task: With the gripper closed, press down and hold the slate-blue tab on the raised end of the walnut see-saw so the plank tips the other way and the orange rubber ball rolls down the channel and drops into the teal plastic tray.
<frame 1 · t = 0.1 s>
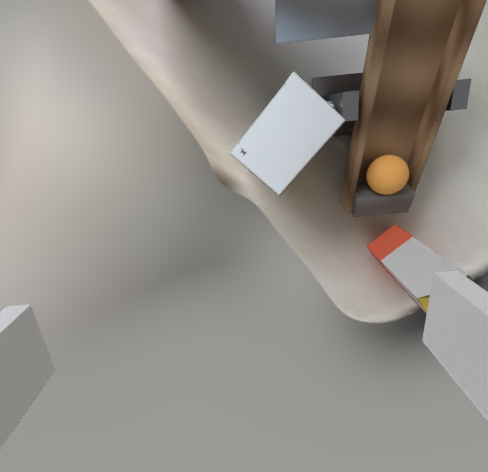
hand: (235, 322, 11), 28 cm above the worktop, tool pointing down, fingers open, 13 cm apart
small box: (283, 141, 35), on the worktop, touching stand
ball: (387, 174, 32), point 5 cm above the worktop, tilted 11°, touching lever
lever: (358, 112, 28), point 6 cm above the worktop, hinge at 23.0°, touching ball
stand: (372, 102, 34), on the worktop
french fries container: (394, 256, 41), on the worktop
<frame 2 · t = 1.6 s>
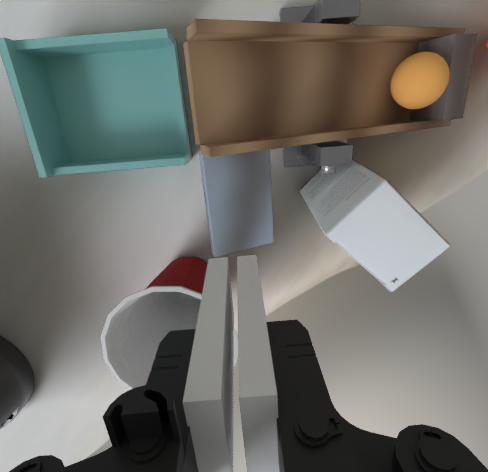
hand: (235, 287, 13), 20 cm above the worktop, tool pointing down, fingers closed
small box: (343, 194, 32), on the worktop, touching stand
ball: (418, 81, 24), point 5 cm above the worktop, tilted 11°, touching lever
tray: (119, 108, 29), on the worktop
lever: (341, 140, 24), point 6 cm above the worktop, hinge at 23.1°, touching ball
stand: (314, 92, 29), on the worktop
plastic cup: (189, 276, 36), on the worktop
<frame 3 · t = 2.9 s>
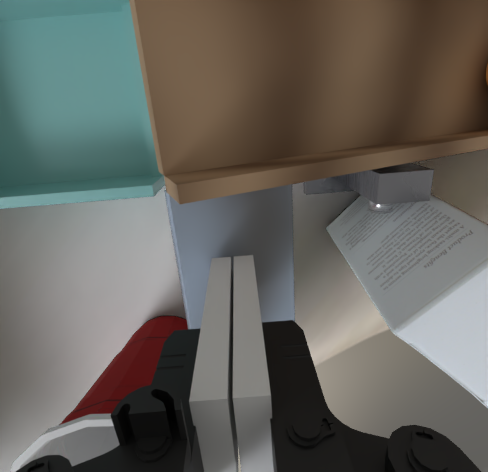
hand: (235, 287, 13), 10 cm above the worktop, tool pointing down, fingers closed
small box: (388, 231, 22), on the worktop, touching stand
tray: (55, 107, 19), on the worktop
lever: (410, 160, 14), point 6 cm above the worktop, hinge at 22.3°, touching ball, gripper
stand: (352, 83, 19), on the worktop
plastic cup: (170, 340, 26), on the worktop
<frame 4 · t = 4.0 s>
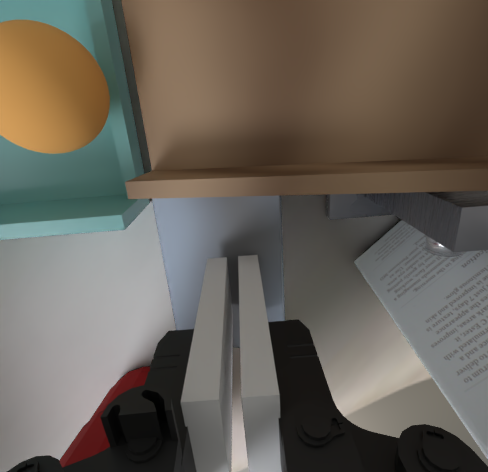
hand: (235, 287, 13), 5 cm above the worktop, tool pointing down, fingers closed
small box: (432, 264, 18), on the worktop, touching stand
ball: (44, 91, 11), point 4 cm above the worktop, tilted 123°
lever: (475, 187, 9), point 6 cm above the worktop, hinge at -13.2°, touching gripper
stand: (395, 73, 14), on the worktop
plastic cup: (156, 393, 21), on the worktop
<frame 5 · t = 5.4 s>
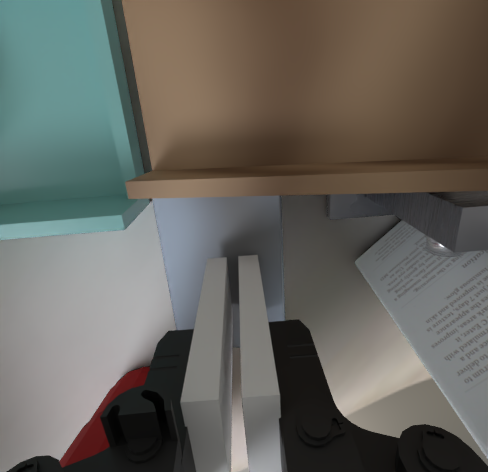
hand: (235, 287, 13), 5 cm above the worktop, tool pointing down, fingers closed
small box: (432, 264, 18), on the worktop, touching stand
lever: (476, 187, 9), point 6 cm above the worktop, hinge at -13.3°, touching gripper
stand: (396, 73, 14), on the worktop
plastic cup: (156, 393, 21), on the worktop
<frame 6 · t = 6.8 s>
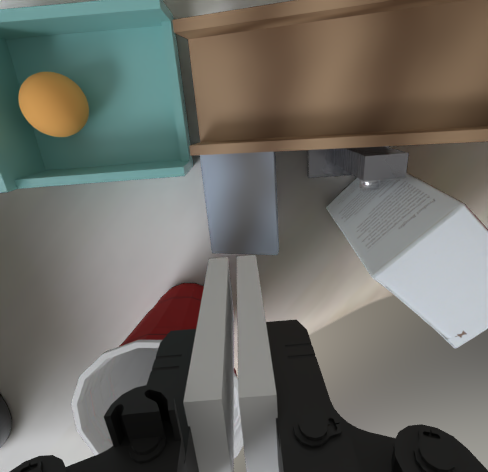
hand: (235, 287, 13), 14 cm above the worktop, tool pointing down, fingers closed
small box: (380, 211, 26), on the worktop, touching stand
ball: (55, 105, 21), point 2 cm above the worktop, tilted 96°, touching tray
tray: (102, 103, 23), on the worktop
lever: (375, 147, 18), point 6 cm above the worktop, hinge at -13.3°
stand: (349, 83, 23), on the worktop
plastic cup: (191, 305, 30), on the worktop
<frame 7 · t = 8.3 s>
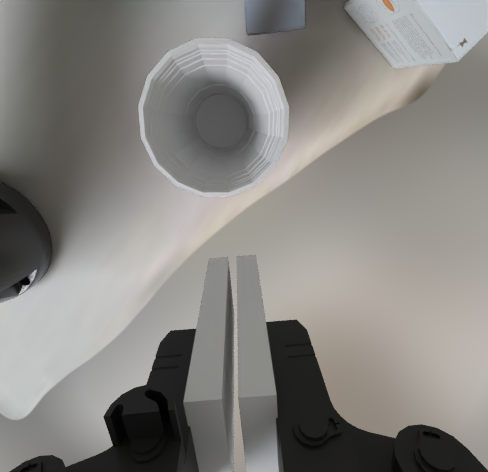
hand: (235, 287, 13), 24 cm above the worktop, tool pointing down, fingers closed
small box: (389, 14, 30), on the worktop, touching stand
plastic cup: (221, 119, 33), on the worktop
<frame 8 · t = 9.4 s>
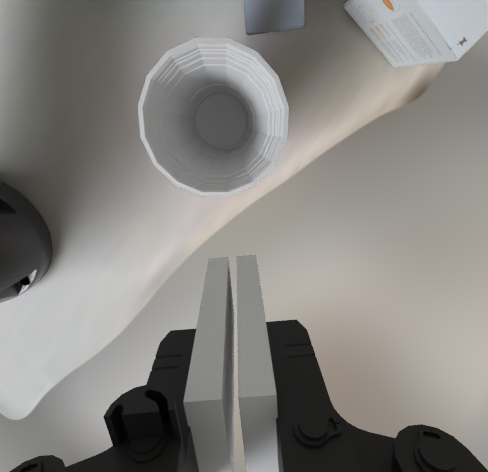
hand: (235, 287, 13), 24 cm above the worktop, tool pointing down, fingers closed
small box: (389, 13, 30), on the worktop, touching stand
plastic cup: (220, 119, 33), on the worktop
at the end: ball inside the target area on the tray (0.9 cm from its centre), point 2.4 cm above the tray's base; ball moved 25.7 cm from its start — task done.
